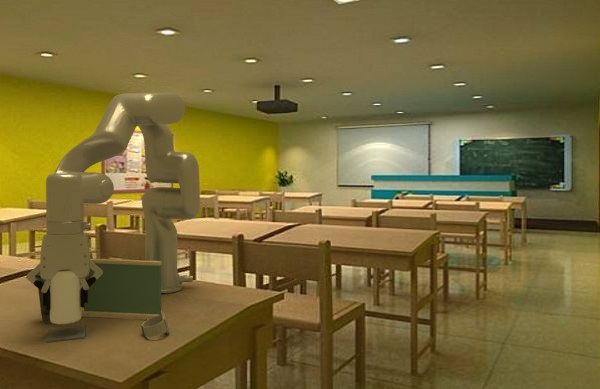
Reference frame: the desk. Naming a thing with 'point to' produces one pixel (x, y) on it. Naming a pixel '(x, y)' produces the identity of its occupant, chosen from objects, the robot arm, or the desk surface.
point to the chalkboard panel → (125, 290)
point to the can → (65, 298)
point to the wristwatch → (155, 326)
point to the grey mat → (65, 333)
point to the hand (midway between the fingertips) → (65, 306)
